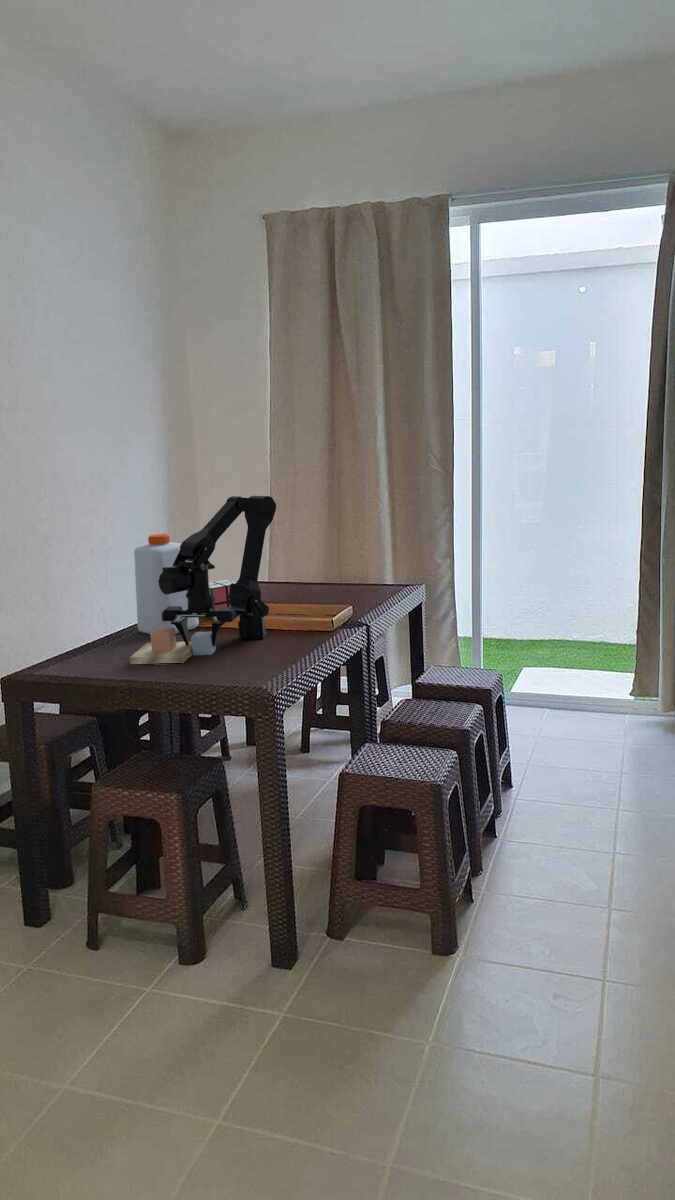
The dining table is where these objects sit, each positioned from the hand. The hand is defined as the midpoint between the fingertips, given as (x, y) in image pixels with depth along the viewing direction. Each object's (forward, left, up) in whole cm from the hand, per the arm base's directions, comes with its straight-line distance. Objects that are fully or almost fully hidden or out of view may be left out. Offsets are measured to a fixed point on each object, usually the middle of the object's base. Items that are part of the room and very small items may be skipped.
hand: (201, 645), depth 233 cm
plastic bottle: (+17, -26, -2) cm, 31 cm away
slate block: (-1, 0, -2) cm, 2 cm away
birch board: (+9, +3, -2) cm, 10 cm away
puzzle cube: (+5, -42, -2) cm, 42 cm away
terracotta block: (+9, +3, 0) cm, 9 cm away
